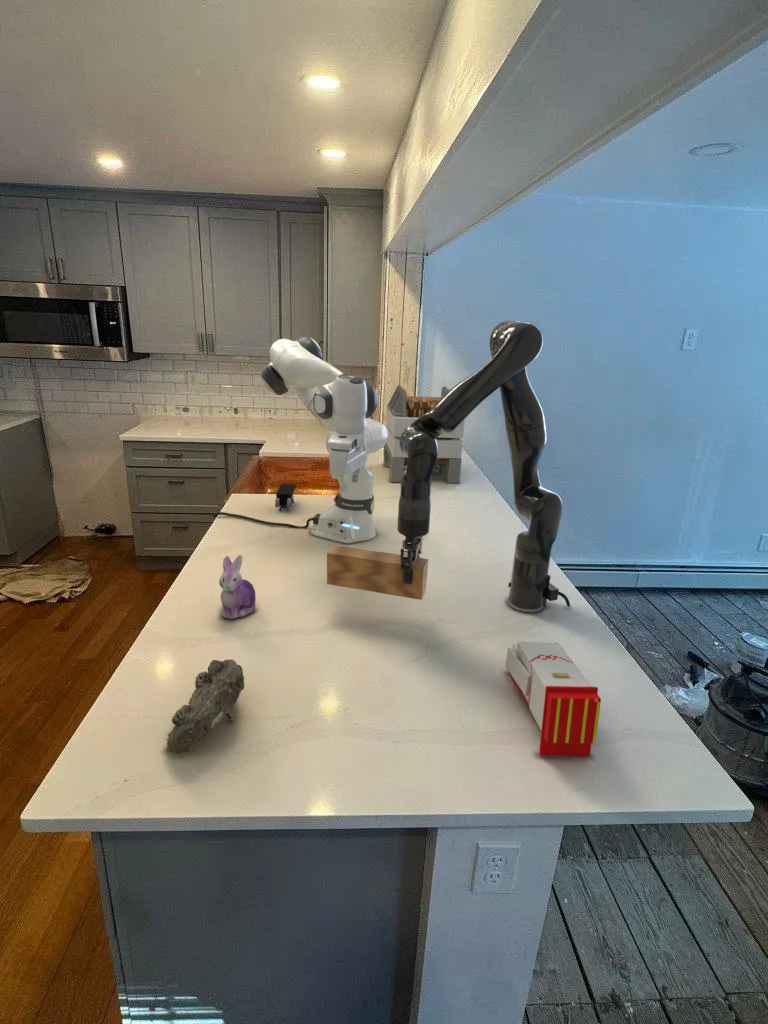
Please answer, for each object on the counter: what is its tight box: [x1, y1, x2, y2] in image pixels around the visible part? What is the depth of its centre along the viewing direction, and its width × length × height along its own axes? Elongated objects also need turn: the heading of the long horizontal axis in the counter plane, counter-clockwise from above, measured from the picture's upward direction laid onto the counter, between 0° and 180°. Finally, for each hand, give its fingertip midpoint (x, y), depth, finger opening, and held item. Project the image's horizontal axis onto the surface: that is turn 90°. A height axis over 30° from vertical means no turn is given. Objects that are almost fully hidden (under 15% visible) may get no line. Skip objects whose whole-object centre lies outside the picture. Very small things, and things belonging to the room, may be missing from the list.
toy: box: [505, 641, 602, 757], centre depth 113 cm, size 12×13×30 cm
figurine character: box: [274, 483, 297, 512], centre depth 220 cm, size 7×8×15 cm
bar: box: [326, 544, 429, 601], centre depth 141 cm, size 24×5×9 cm, turn 74°
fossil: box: [166, 658, 245, 754], centre depth 106 cm, size 22×10×15 cm
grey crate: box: [383, 384, 466, 484], centre depth 268 cm, size 34×33×41 cm
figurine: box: [218, 554, 256, 619], centre depth 143 cm, size 9×10×15 cm
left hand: (349, 486), depth 156 cm, fingers open, 8 cm apart
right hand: (410, 577), depth 139 cm, fingers closed on bar, 5 cm apart
